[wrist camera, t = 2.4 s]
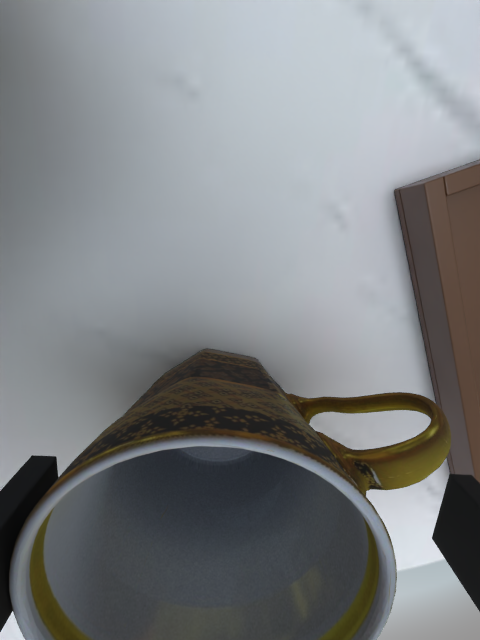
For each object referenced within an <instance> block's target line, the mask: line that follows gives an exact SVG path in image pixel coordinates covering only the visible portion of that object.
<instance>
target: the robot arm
mask: <svg viewBox="0 0 480 640" xmlns="http://www.w3.org/2000/svg"><path fill="white" fill-rule="evenodd" d="M57 479H58V471H57V459H56V457H55V456H31V457H30V458H29V459H28V461H27V462H26V463H25V464H24V465H23V466H22V467H21V468H20V470H19V471H18V472H17V473H16V474H15V475H14V476H13V477H12V479H11V480H10V481H9V482H8V483H7V484H6V485H5V486H4V488H3V489H2V490H1V491H0V632H1V630H2V628H3V627H4V625H5V623H6V621H7V620H8V618H9V616H10V614H11V613H12V611H13V609H12V604H11V598H10V592H9V570H10V561H11V557H12V553H13V550H14V546H15V542H16V539H17V537H18V535H19V533H20V531H21V529H22V527H23V525H24V523H25V521H26V519H27V517H28V516H29V514H30V513H31V511H32V510H33V508H34V507H35V505H36V504H37V503H38V502H39V500H40V499H41V498H42V497H43V496H44V495H45V493H46V492H47V491H48V490H49V489H50V487H51V486H52V485H53V484H54V483H55V481H56V480H57ZM432 539H433V541H434V542H435V544H436V545H437V547H438V548H439V550H440V551H441V553H442V554H443V556H444V557H445V559H446V561H447V562H448V564H449V565H450V567H451V568H452V570H453V571H454V573H455V574H456V576H457V577H458V579H459V581H460V582H461V584H462V585H463V587H464V588H465V590H466V591H467V593H468V594H469V596H470V597H471V599H472V600H473V602H474V604H475V605H476V606H477V608H478V610H479V611H480V483H479V482H478V481H477V480H476V479H475V478H474V477H473V476H472V475H463V474H450V475H449V479H448V482H447V486H446V489H445V493H444V497H443V500H442V504H441V507H440V511H439V515H438V518H437V522H436V525H435V529H434V533H433V536H432Z"/></svg>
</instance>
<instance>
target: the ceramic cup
mask: <svg viewBox="0 0 480 640" xmlns="http://www.w3.org/2000/svg"><path fill="white" fill-rule="evenodd" d="M390 410H412V411H418V412H421V413H424V414H426V415H428V416H429V417H430V418H431V423H430V425H429V426H428V428H427V429H426V430H425V431H423V432H422V433H420V434H419V435H417V436H416V437H414V438H411V439H409V440H406V441H404V442H401V443H397V444H394V445H391V446H386V447H381V448H375V449H367V450H352V449H349V448H347V447H345V446H343V445H342V444H340V443H338V442H336V441H335V440H333V439H331V438H329V437H328V436H326V435H324V434H323V433H320V432H317V431H315V430H314V429H313V428H312V427H311V426H310V425H309V423H310V419H311V418H312V417H313V416H314V415H316V414H319V413H323V412H339V413H369V412H379V411H390ZM450 446H451V431H450V426H449V423H448V420H447V418H446V416H445V414H444V412H443V411H442V409H441V408H440V407H439V406H438V405H437V404H436V403H434V402H433V401H431V400H430V399H428V398H426V397H424V396H421V395H417V394H412V393H402V392H398V393H383V394H375V395H368V396H360V397H350V398H339V397H319V398H303V397H299V396H296V395H293V394H287V393H285V392H284V391H283V389H282V388H281V387H280V386H279V385H278V384H277V383H276V382H275V381H274V380H273V379H272V378H271V377H270V376H269V374H268V373H267V372H266V371H265V369H264V368H263V366H262V365H261V364H260V362H259V361H258V360H257V359H256V358H253V357H248V356H243V355H238V354H233V353H227V352H222V351H217V350H212V349H204V350H202V351H200V352H199V353H197V354H195V355H194V356H192V357H191V358H189V359H187V360H186V361H184V362H183V363H181V364H179V365H178V366H176V367H175V368H173V369H171V370H170V371H168V372H167V373H165V374H164V375H163V376H162V377H161V378H160V379H158V380H157V381H156V382H155V383H154V385H153V386H152V387H151V388H150V389H149V390H148V391H147V392H146V393H145V394H144V395H143V396H142V397H141V398H140V399H139V400H138V401H137V402H136V403H135V404H134V405H133V406H132V407H131V408H130V409H129V410H128V411H127V412H126V413H125V414H124V416H123V417H121V418H120V419H118V420H117V421H115V422H114V423H113V424H112V425H111V426H109V427H108V428H107V429H106V430H105V431H104V432H102V433H101V434H100V435H99V436H98V437H97V438H96V439H95V440H94V441H93V442H92V443H91V444H90V445H89V446H88V447H87V448H86V449H85V450H84V451H83V452H82V453H81V454H80V455H79V456H78V457H77V458H76V459H75V460H74V461H73V462H72V463H71V464H70V465H69V467H68V468H67V469H66V470H65V471H64V472H63V473H62V474H61V475H60V477H59V478H58V479H57V480H56V481H55V483H54V484H53V485H52V486H51V487H50V489H49V490H48V491H47V492H46V493H45V495H44V496H43V497H42V498H41V499H40V500H39V502H38V503H37V504H36V505H35V507H34V508H33V510H32V511H31V513H30V514H29V516H28V517H27V519H26V521H25V523H24V525H23V527H22V529H21V531H20V533H19V535H18V537H17V539H16V542H15V546H14V550H13V553H12V557H11V561H10V570H9V592H10V598H11V604H12V609H13V612H14V615H15V618H16V621H17V623H18V626H19V628H20V630H21V632H22V634H23V636H24V638H25V639H26V640H377V638H378V637H379V635H380V634H381V632H382V630H383V628H384V626H385V624H386V622H387V619H388V617H389V614H390V611H391V609H392V604H393V600H394V596H395V592H396V580H397V573H396V560H395V555H394V550H393V546H392V542H391V539H390V536H389V534H388V532H387V529H386V527H385V525H384V523H383V521H382V519H381V518H380V516H379V514H378V513H377V511H376V510H375V508H374V506H373V505H372V504H371V503H370V501H369V500H368V499H367V498H366V491H367V490H370V489H377V490H391V489H398V488H403V487H407V486H410V485H412V484H415V483H418V482H420V481H422V480H423V479H425V478H426V477H428V476H429V475H430V474H431V473H432V472H434V471H435V470H436V469H437V468H439V467H440V465H441V464H442V463H443V462H444V460H445V459H446V457H447V455H448V453H449V450H450Z"/></svg>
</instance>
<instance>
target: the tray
mask: <svg viewBox="0 0 480 640" xmlns="http://www.w3.org/2000/svg"><path fill="white" fill-rule="evenodd" d="M395 196H396V201H397V206H398V211H399V217H400V222H401V227H402V232H403V237H404V242H405V247H406V252H407V257H408V262H409V267H410V272H411V277H412V282H413V287H414V292H415V297H416V302H417V307H418V312H419V317H420V322H421V327H422V332H423V338H424V343H425V348H426V353H427V358H428V363H429V368H430V373H431V378H432V383H433V388H434V393H435V398H436V403H437V405H438V406H439V407H440V408H441V409H442V411H443V412H444V414H445V416H446V418H447V420H448V423H449V426H450V431H451V446H450V450H449V453H448V455H447V459H448V464H449V469H450V474H463V475H472V476H473V477H474V478H475V479H476V480H477V481H478V482H479V483H480V160H477V161H474V162H471V163H469V164H466V165H463V166H460V167H457V168H454V169H452V170H449V171H446V172H443V173H440V174H437V175H435V176H432V177H429V178H426V179H423V180H420V181H418V182H415V183H412V184H409V185H406V186H403V187H401V188H398V189H395Z"/></svg>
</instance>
